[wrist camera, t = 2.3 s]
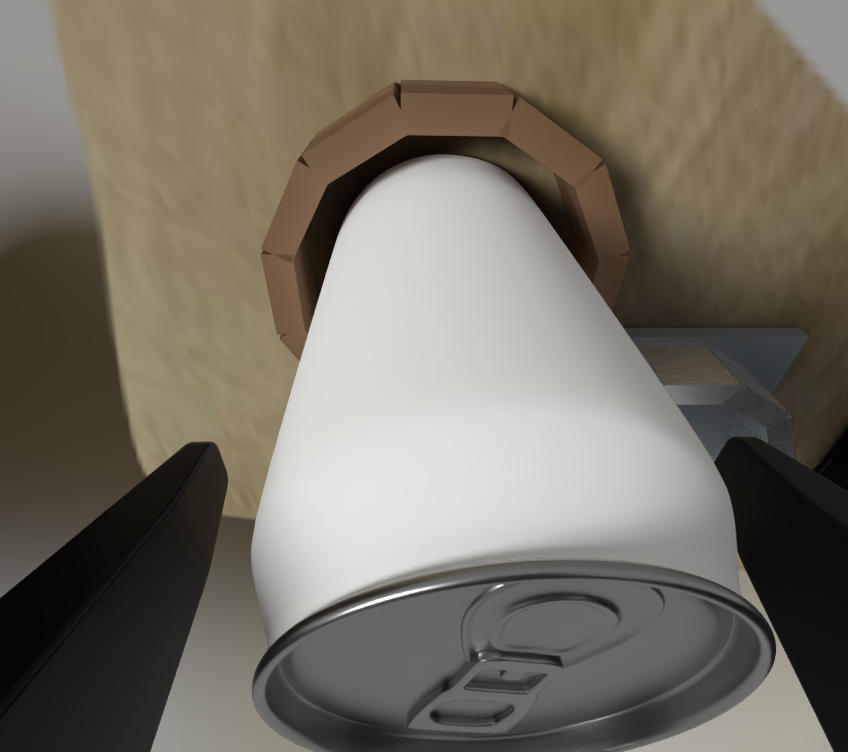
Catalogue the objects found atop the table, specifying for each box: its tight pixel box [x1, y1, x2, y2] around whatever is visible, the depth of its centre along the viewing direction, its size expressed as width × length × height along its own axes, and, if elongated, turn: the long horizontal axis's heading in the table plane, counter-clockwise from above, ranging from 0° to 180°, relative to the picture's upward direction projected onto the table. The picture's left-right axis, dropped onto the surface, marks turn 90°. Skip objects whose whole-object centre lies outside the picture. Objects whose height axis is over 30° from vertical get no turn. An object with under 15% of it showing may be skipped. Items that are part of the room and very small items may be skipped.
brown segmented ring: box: [261, 80, 631, 361], centre depth 14 cm, size 10×10×2 cm
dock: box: [624, 327, 809, 462], centre depth 18 cm, size 10×10×3 cm
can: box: [251, 154, 776, 752], centre depth 10 cm, size 6×6×12 cm
